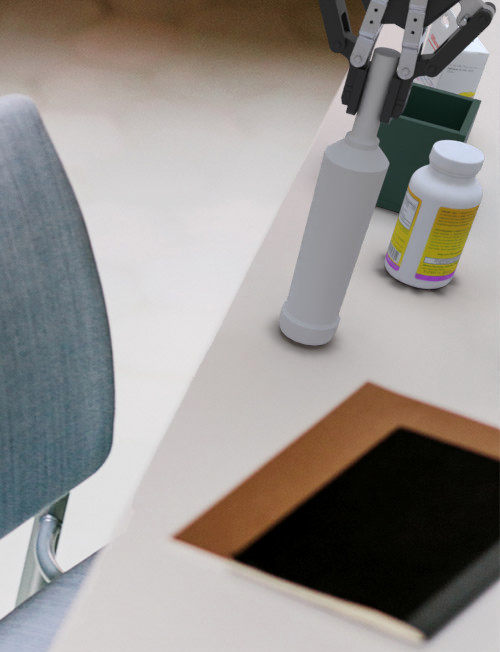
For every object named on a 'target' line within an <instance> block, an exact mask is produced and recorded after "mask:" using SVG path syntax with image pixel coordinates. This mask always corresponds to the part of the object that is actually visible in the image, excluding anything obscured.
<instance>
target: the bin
mask: <svg viewBox="0 0 500 652" xmlns="http://www.w3.org/2000/svg"><path fill="white" fill-rule="evenodd" d="M481 104H482V100H481V99H477V98H470V97H466V96H463V95H459V94H455V93H451V92H448V91H444V90H440V89H436V88H433V87H429V86H425V85H421V84H418V83H414V81H413V84H412V88H411V91H410V94H409V97H408V100H407V104H406V107H405V109H404V111H403V112H402V114H401V115H400V116H399V118H398V119H395V118H392V120H391V121H390V123H389V125H388V124H384V123H380V126H379V129H378V133H377V137H378V138H379V140H380V142H379V145H378V146H379V147H380V149H381V150H382V152H383V153H384V154H385V156H386V157H387V159H388V161H389V163H390V164H389V167H388V170H387V173H386V176H385V179H384V181H383V184H382V187H381V190H380V193H379V196H378V199H377V202H376V205H375V207H379V208H382V209H387V210H390V211H392V212H396V213H400V210H401V207H402V204H403V201H404V198H405V195H406V192H407V188H408V185H409V182H410V180H411V177H412V175H413V174H414V173H415V171H417V170H418V169H419V168H421V167H423V166H426V165H429V164H430V161H429V160H430V159H429V155H430V153H431V150H432V147H433V145H434V144H435V143H436V142H438V141H442V140H453V141H459V142H463V143H466V144H468V143H467V142H468V140H469V137H470V135H471V131H472V129H473V126H474V123H475V120H476V117H477V115H478V112H479V110H480V107H481Z"/></svg>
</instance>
